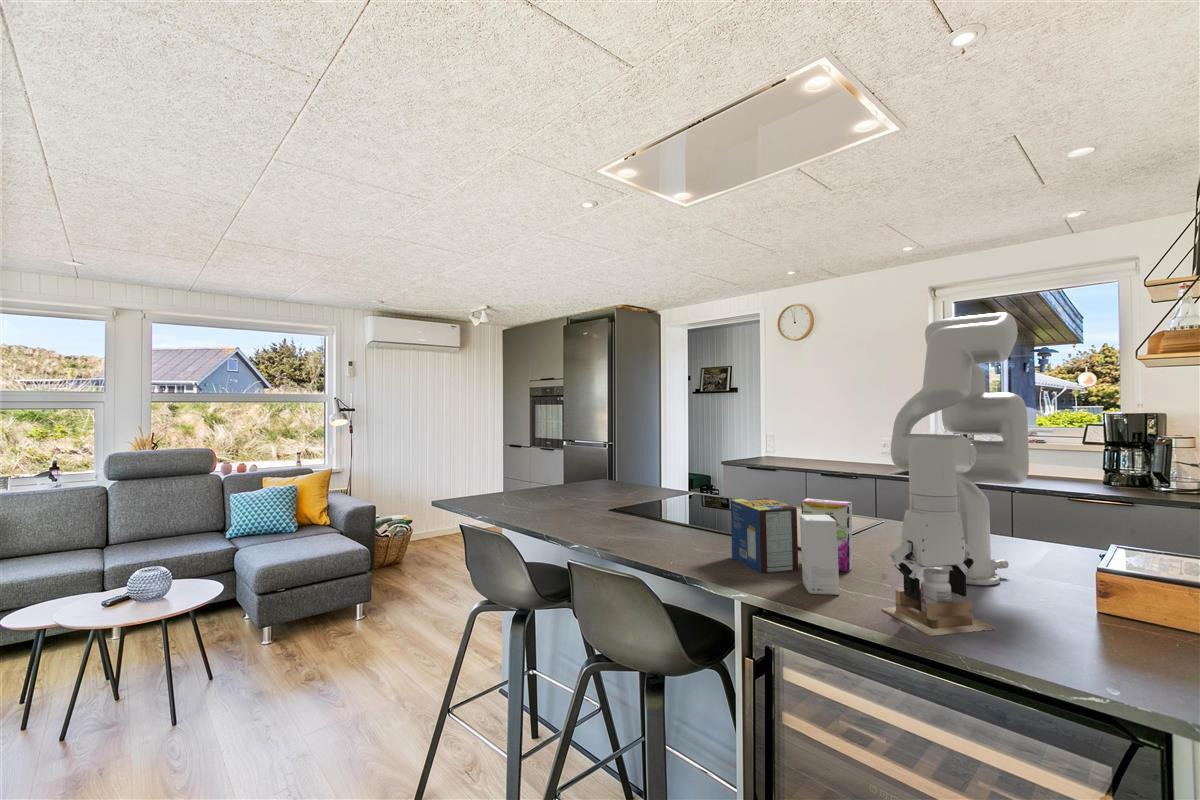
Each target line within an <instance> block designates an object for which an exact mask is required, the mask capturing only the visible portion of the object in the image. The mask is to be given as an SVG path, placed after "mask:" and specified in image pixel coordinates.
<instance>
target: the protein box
mask: <svg viewBox="0 0 1200 800" xmlns="http://www.w3.org/2000/svg"><path fill="white" fill-rule="evenodd" d="M797 512H798V507H797V506H794V505H791V504H787V503H783V502H780V501H776V500H773V499H770V498H766V497H758V498H755V497H753V498H738V499H736V498H735V499H730V516H731V517H730V524H731V525H730V526H731V527H730V528H731V530H730V531H731V558H732V557H733V558H732V559H734V558H735V560H736V561H737V560H738V561H737V562H739V561H740V562H739V563H741V564H742V563H743V564H742V565H744V564H745V565H744V566H746V567H748V568H749V567H750V568H749V569H751V570H752V571H754V570H755V571H754V572H756V573H758V574H759V573H760V574H761V575H763V573H765V574H775V573H776V574H777V573H785V572H786V573H787V572H796V571H797V572H798V571H799V553H798V552H799V549H798V548H799V546H798V545H799V544H798V543H799V542H798V538H799V537H798V513H797Z"/></svg>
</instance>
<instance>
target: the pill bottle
mask: <svg viewBox="0 0 1200 800" xmlns="http://www.w3.org/2000/svg"><path fill="white" fill-rule="evenodd" d="M920 588H921V612H923V613H925V614H927V610H926V604H928V603H940V602H952V592H951V585H950V584H949V580H948V572H946V571H943V570H940V569H934V567H926V568H924V569H923V570H922V580H921V581H920Z"/></svg>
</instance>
